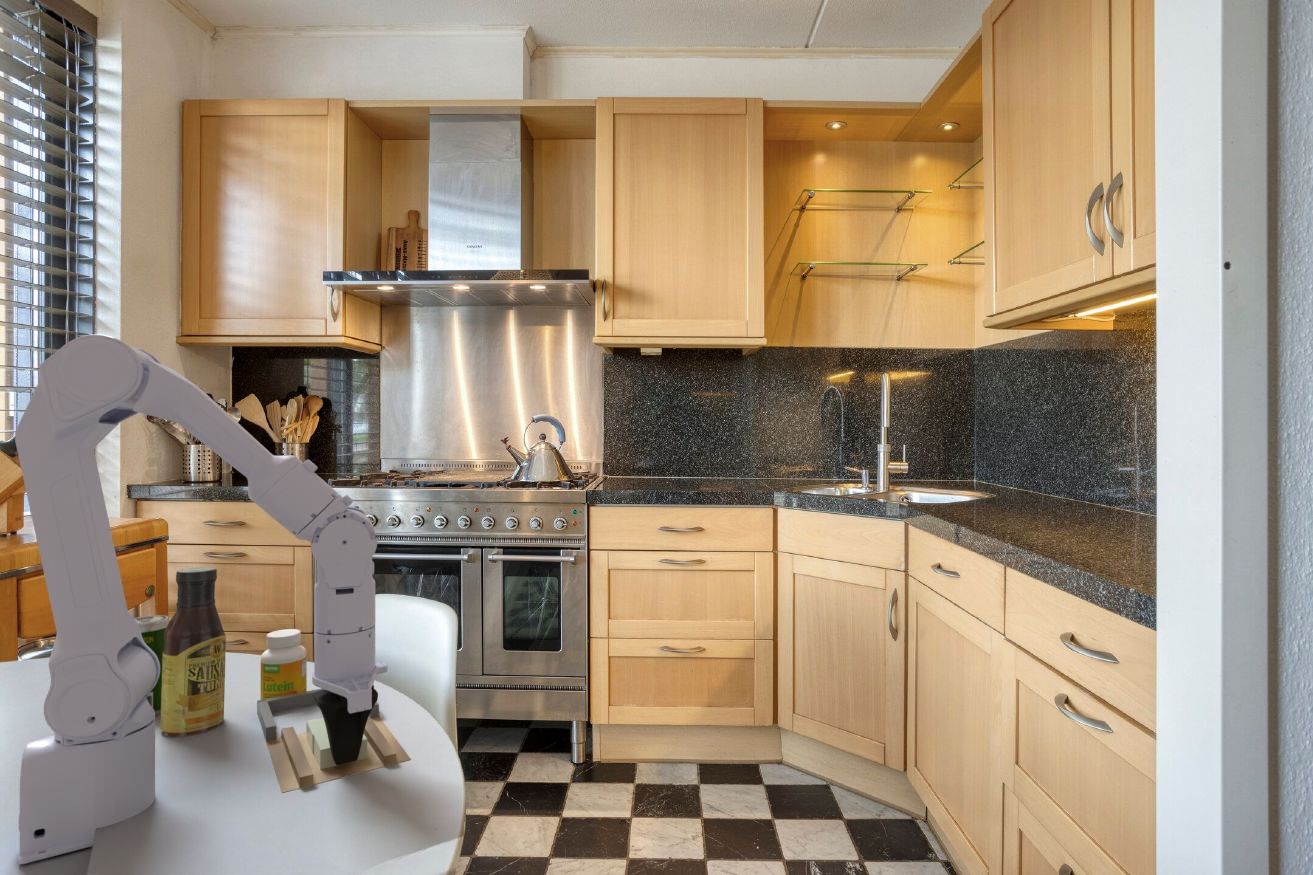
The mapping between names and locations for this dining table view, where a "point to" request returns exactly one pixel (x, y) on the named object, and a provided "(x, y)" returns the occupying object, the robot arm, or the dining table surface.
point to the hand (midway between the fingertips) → (345, 760)
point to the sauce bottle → (193, 658)
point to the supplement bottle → (283, 665)
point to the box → (287, 703)
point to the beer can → (154, 639)
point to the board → (303, 770)
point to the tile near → (324, 752)
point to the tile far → (314, 730)
